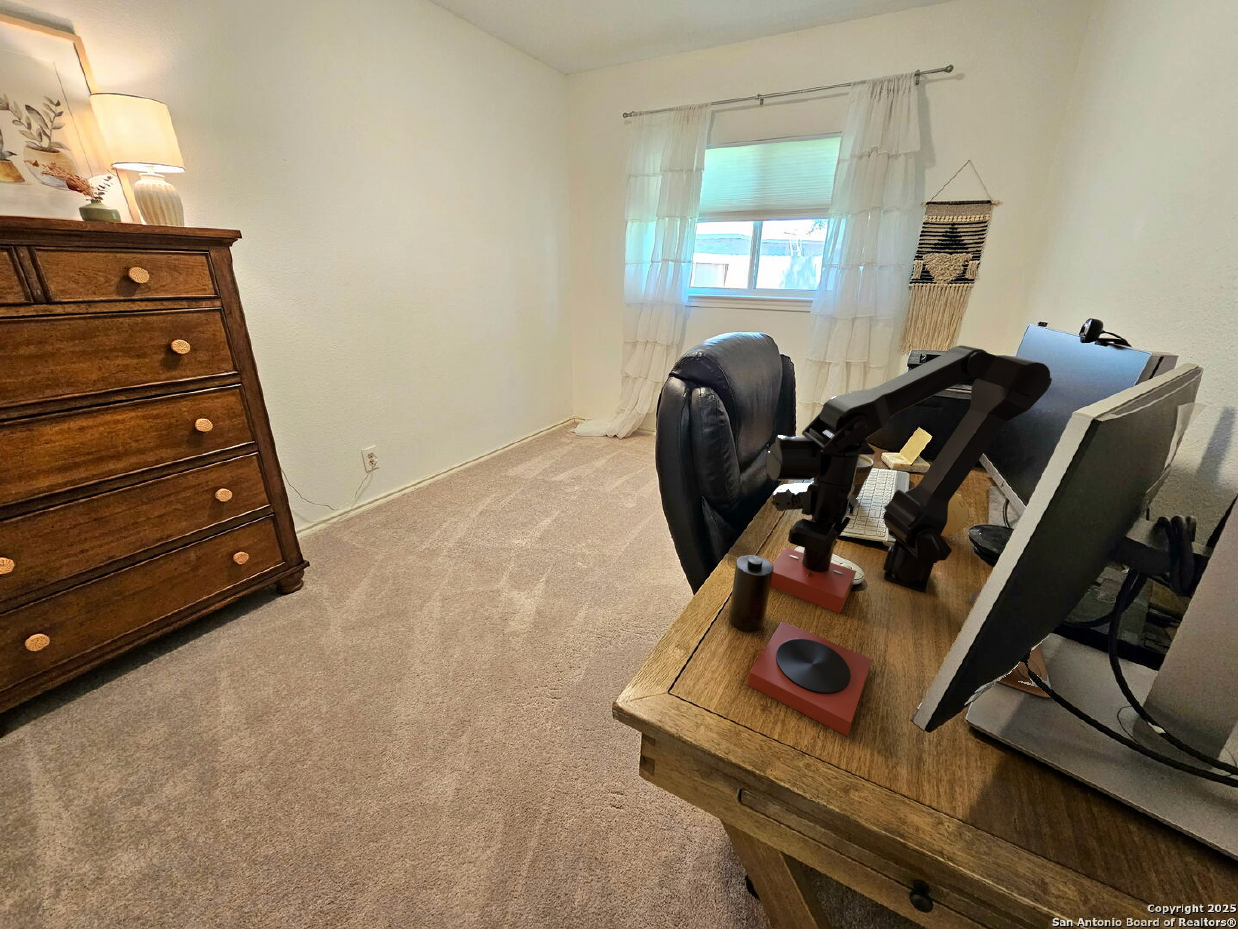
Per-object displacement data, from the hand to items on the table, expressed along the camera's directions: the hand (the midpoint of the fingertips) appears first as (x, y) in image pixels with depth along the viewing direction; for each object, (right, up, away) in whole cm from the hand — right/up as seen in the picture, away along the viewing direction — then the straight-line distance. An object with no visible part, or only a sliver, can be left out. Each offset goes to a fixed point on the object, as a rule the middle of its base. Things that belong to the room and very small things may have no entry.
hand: (816, 562), depth 82 cm
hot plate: (-9, -11, -19) cm, 24 cm away
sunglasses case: (+22, -10, -12) cm, 27 cm away
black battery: (-14, -7, -9) cm, 18 cm away
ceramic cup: (+18, +8, +31) cm, 36 cm away
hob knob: (0, 0, 0) cm, 0 cm away
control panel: (-1, -4, 0) cm, 4 cm away
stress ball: (+31, +2, +17) cm, 36 cm away
